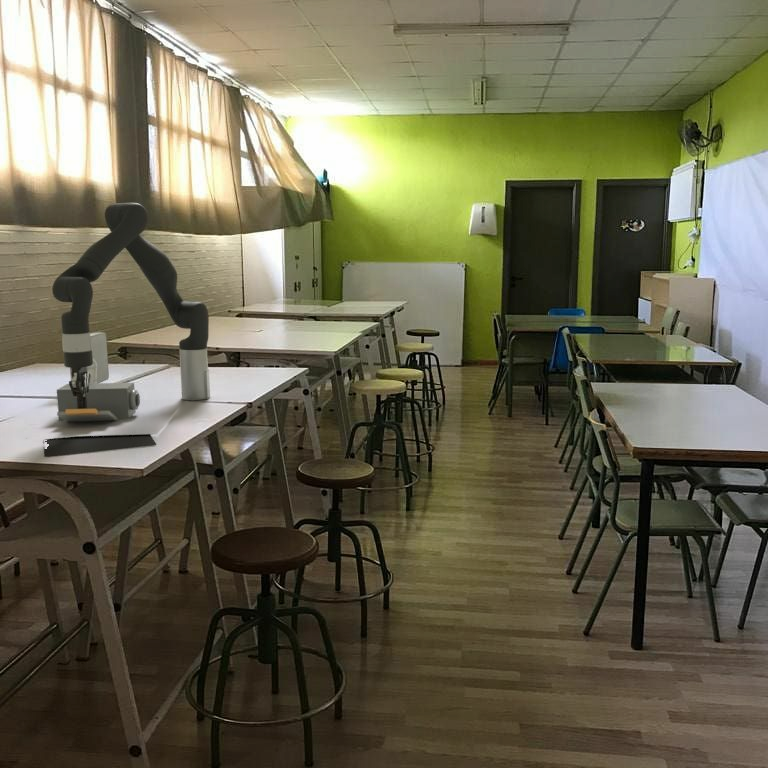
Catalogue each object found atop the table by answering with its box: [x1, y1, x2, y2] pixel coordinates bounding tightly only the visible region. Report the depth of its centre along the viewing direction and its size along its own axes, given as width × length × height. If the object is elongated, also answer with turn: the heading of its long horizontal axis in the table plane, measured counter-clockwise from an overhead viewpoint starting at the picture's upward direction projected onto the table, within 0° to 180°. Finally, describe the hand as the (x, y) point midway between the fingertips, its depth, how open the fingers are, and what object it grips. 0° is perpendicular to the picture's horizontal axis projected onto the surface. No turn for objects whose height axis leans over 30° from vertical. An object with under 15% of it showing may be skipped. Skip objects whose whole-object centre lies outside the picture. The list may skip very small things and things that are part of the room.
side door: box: [56, 409, 119, 423], centre depth 217 cm, size 14×1×13 cm
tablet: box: [43, 433, 157, 458], centre depth 200 cm, size 27×1×20 cm
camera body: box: [56, 382, 141, 422], centre depth 228 cm, size 22×10×10 cm, turn 96°
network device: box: [69, 332, 110, 383], centre depth 277 cm, size 26×9×20 cm, turn 179°
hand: (82, 409), depth 213 cm, fingers closed
